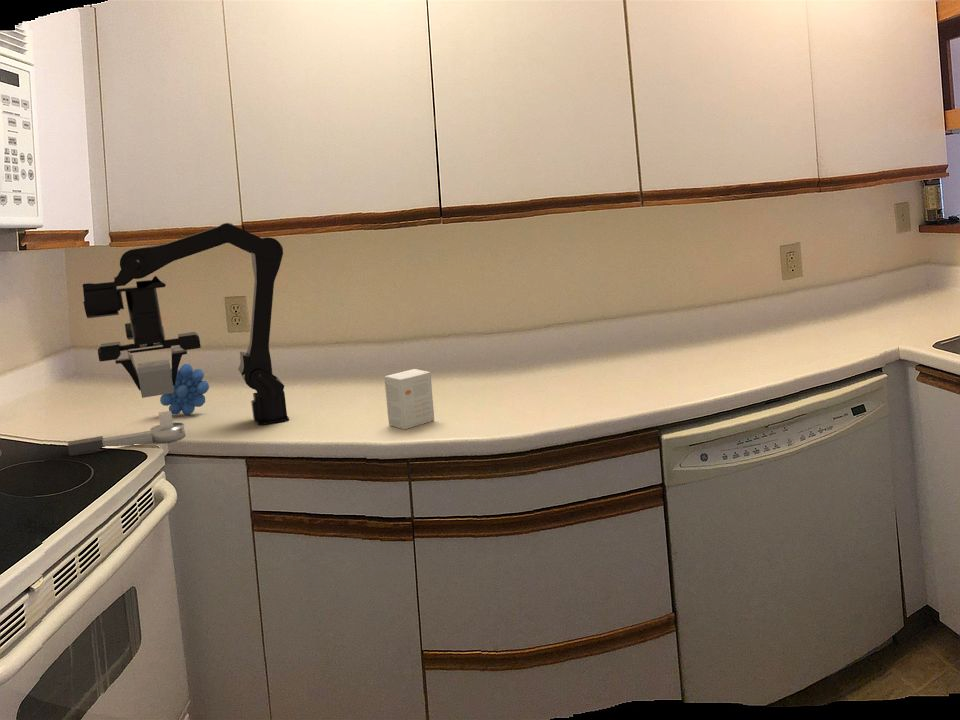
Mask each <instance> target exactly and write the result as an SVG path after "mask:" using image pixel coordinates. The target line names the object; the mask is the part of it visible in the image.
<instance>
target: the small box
mask: <svg viewBox="0 0 960 720" xmlns="http://www.w3.org/2000/svg"><path fill="white" fill-rule="evenodd" d="M383 379H384V386H385V387H384V388H385V399H386V408H387V419H388V425H389V426H390V427H394V428H397V429H401V430H408V428H409V429H411V427H412V428H414V426H415V427H419V426H421V425H424V423H425V424H427V422H428V423H430V422H434V421H435V412H434V411H435V409H434V399H433V388H432V387H433V385H432V374H431V372H430V371H426V370H421V369H417V368H413V369H412V368H411V369H409V370H404V371H400V372H395V373H393V374H389V375H385V376H384V378H383Z"/></svg>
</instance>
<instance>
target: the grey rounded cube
mask: <svg viewBox="0 0 960 720" xmlns="http://www.w3.org/2000/svg"><path fill="white" fill-rule="evenodd" d="M171 369H172V367H171V364H170V359H168V358H167V359H161V360H155V361H148V362H147V361H146V362H141V363H137V364H136V370H137V373H138V378H139V384H140V390H141V391H140V395H141V398H142V399H144V398H151V397H155V396H162V395H164V394H171V393H174V386H173V382H172V374H171Z"/></svg>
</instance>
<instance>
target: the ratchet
mask: <svg viewBox="0 0 960 720" xmlns="http://www.w3.org/2000/svg"><path fill="white" fill-rule="evenodd" d="M158 419H159V424H158V425H155V426H152V427H151V428H150V429H149V430H146V431H139V432H135V433H134V432H133V433H127V434H122V435H114V436H109V437H108V436H107V437H104V436H102V435H101V436H96V437H88V438H87V437H86V438H81V439H75V440H71V441H70V440H69V441H68V443H67V450H68V455H70V454H74V453H78V452H83V451H87V450H92V449H100V448H102V447H105V446H119V445H121V446H122V445H134V444H143V445H147V444H148V443H149V444H153V443H154V444H170V443H174V442H178V441H181V440H183V439H185V438H186V431H185V424H184V423H183V422H173V414H171V411H169V410H167V411H160V412H158ZM184 437H185V438H184Z"/></svg>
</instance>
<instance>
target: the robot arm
mask: <svg viewBox="0 0 960 720" xmlns="http://www.w3.org/2000/svg"><path fill="white" fill-rule="evenodd" d="M225 244H230V245H233V246H234V247H235V248H238V249H240V250H242V251H244V252H246V253H248V254H249V253H250V254H251V255H250V256H251V265H252V266H251V267H252V270H253V271H252V272H253V277H254V286H253V296H252V297H253V298H252V311H251V321H250V335H249V336H250V337H249V345H248V346H247V350H246V352H245V351H244V352H243V351H239V358H240V359H239V361H240V362H239V366H238V368H237V370H238V371H239V373H240V375H241V377H242V379H243V380H244V382H245V384H246V385H247V387H248V388H250V389H252V390H255V392H253V393H252V396H253V399H252V400H250V401H251V402H250V403H251V411H252V412H251V413H252V419H253V420H254V422H256V423H257V425H258V426H262V425H263V426H264V425H267V424H274V423H279V422H285V421H289V420H290V417H289V416H288V412H287V403H286V396H285V395H286V393H285V384H283V382H282V380H280V379H279V378H278V377H277V376H276V375H274V374H273V368H272V366H273V365H272V359H271V352H270V335H271V333H270V332H271V324H272V312H273V310H272V309H273V301H274V300H273V299H274V288H275V287H274V285H275V280H276V278H277V276H278V273H279V270H280V266H281V263H282V260H283V256H284V248H283V245H282V244H281V243H280V242H279V241H278V240H277V239H275V238H273V237H269V236H268V237H265V236H264V237H260V236H258V235H255V234H253V233H251V232H249V231H246V230H244V229H241V228H239V227H238V226H236V225H235V224H233V223H230V222H225V223H222V224H220V225H219V226H218V225H217V226H216V227H213V228H210V229H207V230H204V231H201V232H198V233H194V234H192V235H189V236H185V237H182V238H178V239H177V240H174V241H171V242H168V243H164V244H163V243H162V244H157V245H149V246H144V247H143V246H142V247H136V248H131V249H129V250H127V251H125V252H124V253H122V255H121V256H120V259H119V267H120V270H119V272H118V274H117V275H114V277H113V278H114V279H113V281H107V282H86V283H85V282H84V283H83V284H82V285H81V286H82V291H83V301H82V302H83V306H84V312H85V315H86V319H94V318H95V319H97V318H104V317H113V316H119V315H120V311H121V310H125V304H124V298H123V294H122V292H123V293H125V294H124V295H125V300H126V303H127V306H126V307H127V311H128V316H129V322H127V323H124V328H125V335H126V339H127V340H129V341H130V340H133V343H130V344H122V343H121V341H114V342H112V341H111V342H106V343H101V344H100V345H99V346H98V348H97V355H98V361H99V362H108V361H109V362H110V361H114V360H115V361H114V362H115V364H116V365H117V364H121V365H122V366H123V368H124V369H125V370H126V372H127V373H128V374H129V376H130V377H131V379H132V381H133V382H134V384H135V386H136V387H137V389H138V391H140V392H141V390H140V384H139V378H138V373H137V366H136V364H135V360H134V357H133V356H134V355H133V354H134V353H142V352H143V353H144V352H149V351H150V352H153V351H159V350H166V349H171V350H170V351H171V369H172V382H173V386H174V385H175V383H176V377H177V371H178V370H179V366H180V363H181V359H182V356H183V355H187V354H188V351H190V350H196V349H201V346H202V345H201V340H200V335H199V333H197V332H196V331H190V332H185V333H178V334H177V337H175V338H168V339H166V337H165V330H164V326H163V321H162V320H163V319H162V316H161V315H162V314H161V308H160V303H159V297H158V291H157V289H160V288H162V289H163V288H166V286H167V285H166V282H165V281H162V280H161V279H160V278H159V277H158V275H154V276H153V278H152V279H149V280H146V279H145V280H140V279H144V278H146V277H148V276H149V275H151V274H153V273H156V271H159V270H161V269H162V268H163V267H166V266H167V265H169V264H171V263H172V262H175V261H178V260H181V259H183V258H187V257H189V256H193V255H196V254H198V253H201V252H202V253H203V252H204V251H207V250H211V249H213V248H216V247H219V246H222V245H225ZM138 279H139V281H137V280H138ZM133 280H136V282H135V283H136V286H130V287H129V286H128V287H123V286H126V285H127V284H129V283H130V282H131V281H133ZM118 287H119V288H118Z"/></svg>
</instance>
